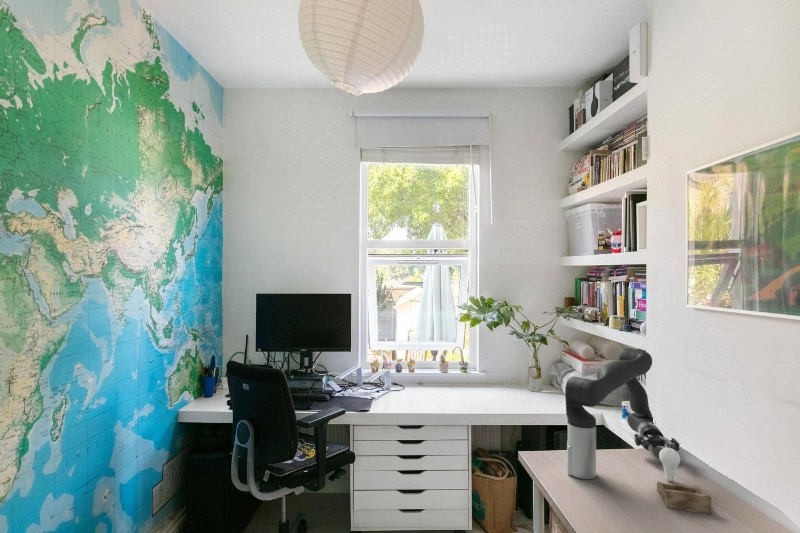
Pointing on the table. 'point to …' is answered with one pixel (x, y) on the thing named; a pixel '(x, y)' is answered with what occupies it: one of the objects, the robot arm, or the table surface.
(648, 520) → the table surface
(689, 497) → the cradle
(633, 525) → the table surface
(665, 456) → the lightbulb
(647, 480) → the table surface
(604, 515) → the table surface
